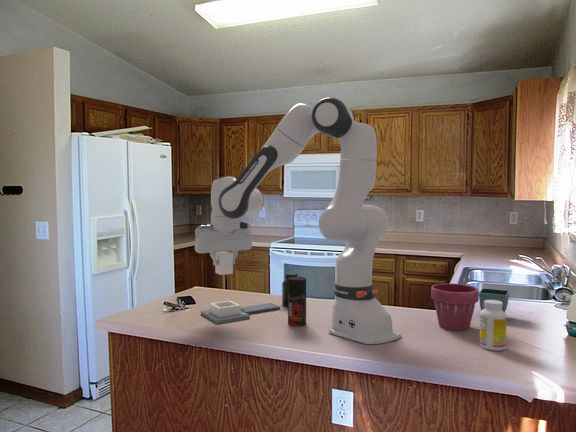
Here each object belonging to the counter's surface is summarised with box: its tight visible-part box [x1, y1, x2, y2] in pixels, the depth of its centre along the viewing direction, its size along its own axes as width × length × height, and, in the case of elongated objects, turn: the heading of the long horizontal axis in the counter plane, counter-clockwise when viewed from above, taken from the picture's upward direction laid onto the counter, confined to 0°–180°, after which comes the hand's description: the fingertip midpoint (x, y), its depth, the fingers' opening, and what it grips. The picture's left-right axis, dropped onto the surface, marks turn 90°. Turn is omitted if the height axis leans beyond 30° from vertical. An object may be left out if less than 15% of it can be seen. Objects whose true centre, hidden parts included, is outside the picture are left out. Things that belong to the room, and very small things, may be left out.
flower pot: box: [478, 287, 510, 313], centre depth 156 cm, size 9×9×9 cm
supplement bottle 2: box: [479, 300, 507, 352], centre depth 126 cm, size 7×7×13 cm
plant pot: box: [430, 283, 480, 332], centre depth 145 cm, size 14×14×13 cm
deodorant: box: [287, 276, 307, 327], centre depth 148 cm, size 6×6×15 cm
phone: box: [240, 302, 281, 315], centre depth 166 cm, size 14×7×1 cm, turn 123°
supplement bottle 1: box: [281, 272, 299, 307], centre depth 173 cm, size 7×7×12 cm
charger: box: [214, 251, 234, 276], centre depth 157 cm, size 5×4×7 cm
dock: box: [200, 300, 251, 325], centre depth 158 cm, size 14×12×4 cm
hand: (224, 264), depth 157 cm, fingers closed on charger, 4 cm apart
